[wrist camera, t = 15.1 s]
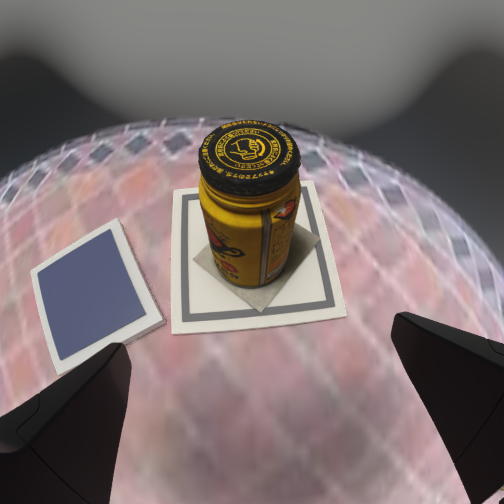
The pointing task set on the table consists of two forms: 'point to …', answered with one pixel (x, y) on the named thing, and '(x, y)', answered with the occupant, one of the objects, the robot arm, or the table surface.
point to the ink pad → (93, 297)
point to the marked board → (230, 304)
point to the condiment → (251, 209)
